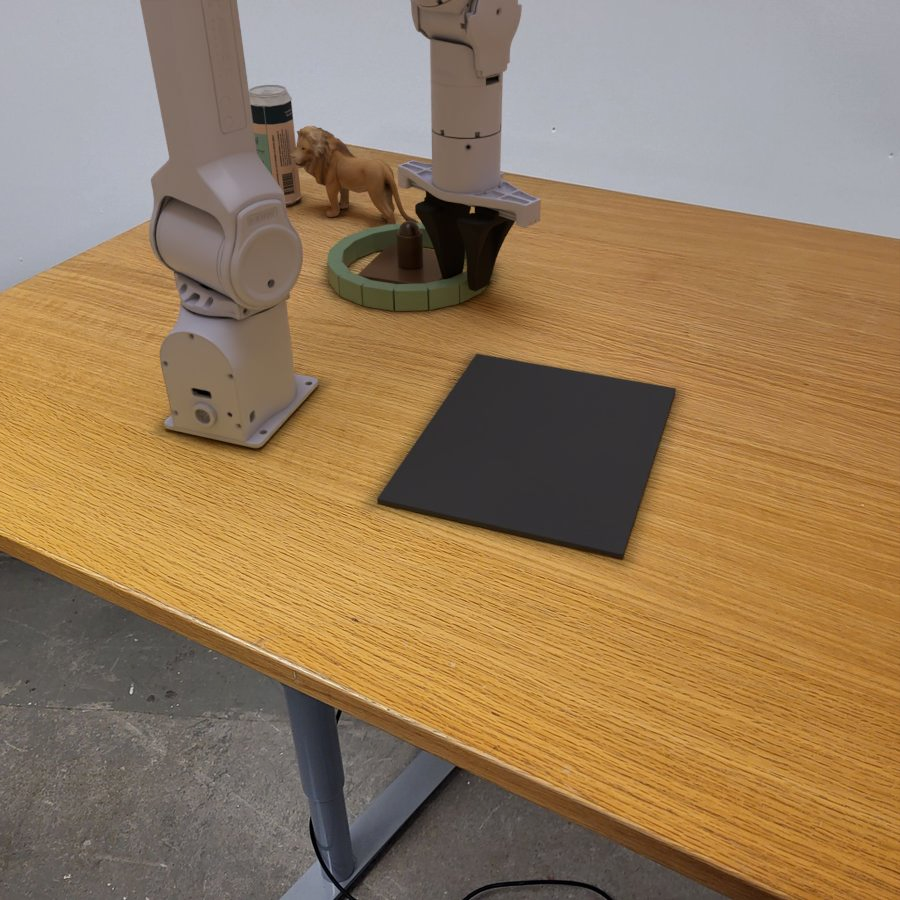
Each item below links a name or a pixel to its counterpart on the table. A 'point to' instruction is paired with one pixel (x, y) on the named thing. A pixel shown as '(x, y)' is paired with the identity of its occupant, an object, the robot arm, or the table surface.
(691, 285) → the table surface
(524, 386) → the mat
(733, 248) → the table surface
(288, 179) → the beer can
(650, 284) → the table surface
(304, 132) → the lion figurine
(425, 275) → the peg stand
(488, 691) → the table surface
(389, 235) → the ring
